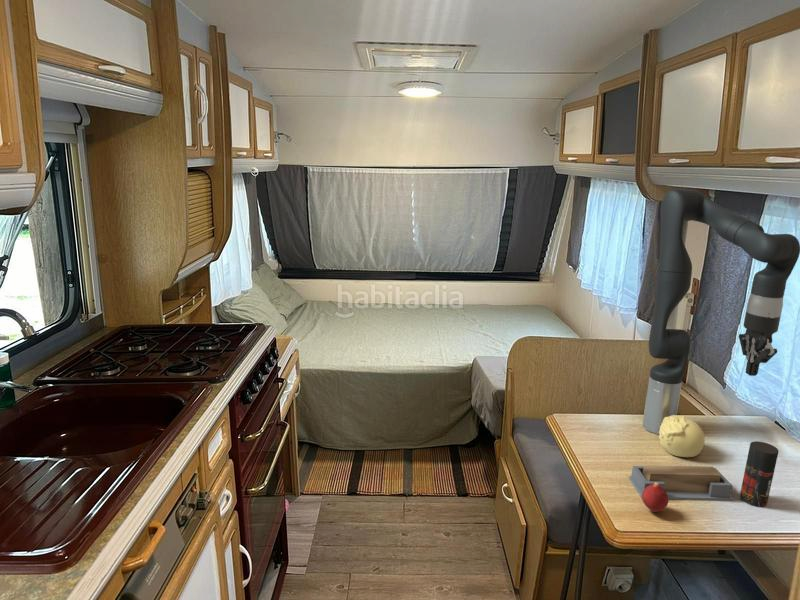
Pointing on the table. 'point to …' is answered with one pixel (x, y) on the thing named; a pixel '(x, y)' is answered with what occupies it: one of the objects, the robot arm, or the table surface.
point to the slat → (682, 477)
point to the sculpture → (681, 436)
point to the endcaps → (715, 491)
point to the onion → (655, 497)
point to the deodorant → (758, 473)
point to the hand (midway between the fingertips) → (751, 374)
